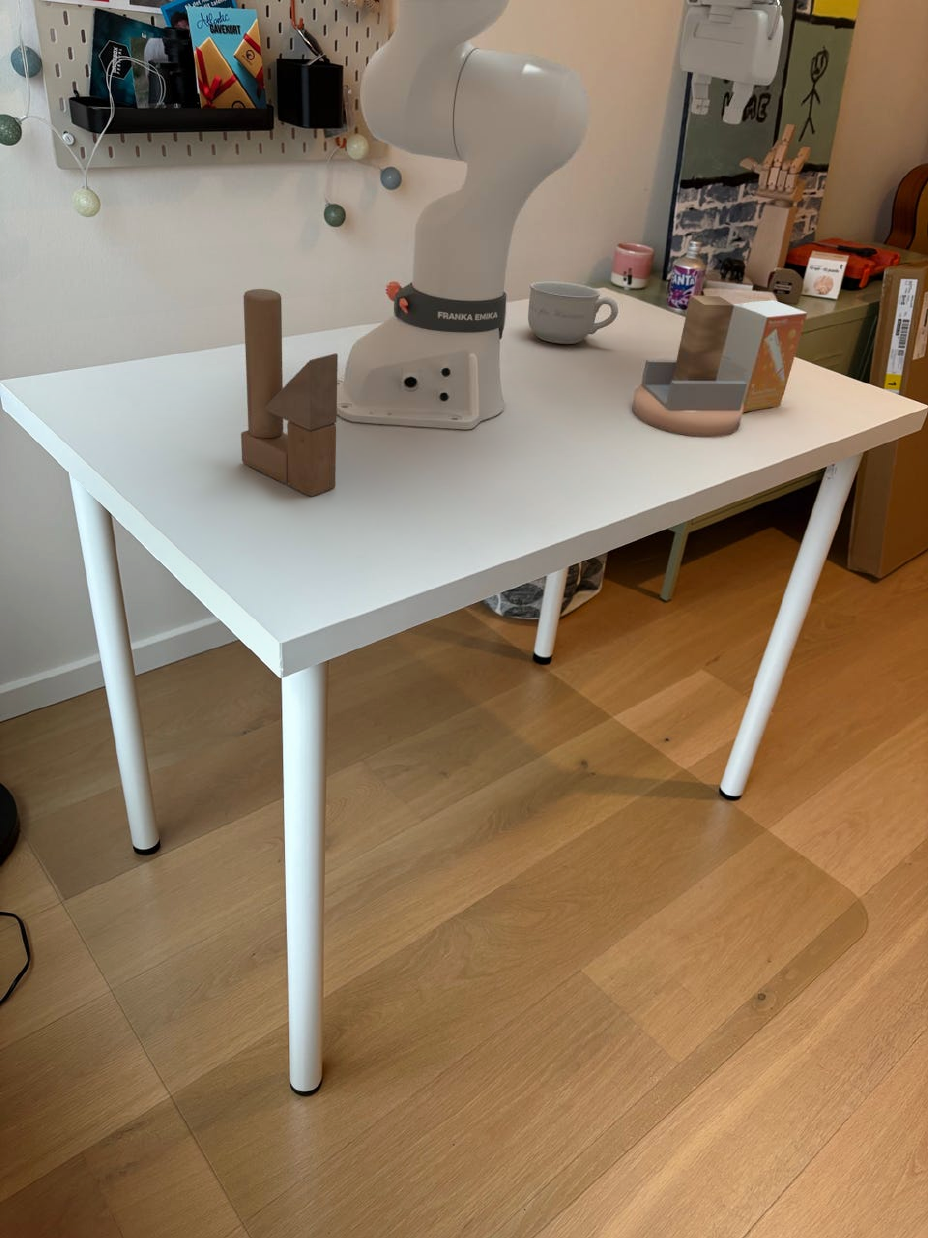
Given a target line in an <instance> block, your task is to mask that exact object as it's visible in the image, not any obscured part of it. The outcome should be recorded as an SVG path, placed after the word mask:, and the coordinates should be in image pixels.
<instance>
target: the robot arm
mask: <svg viewBox="0 0 928 1238" xmlns="http://www.w3.org/2000/svg"><path fill="white" fill-rule="evenodd" d="M509 2H510V0H398V12H397V13H398V14H397V21H396V25H395V29H394V31H393V33H392V35H391V36H390V38H389V39H388V41H386V42H385V44H384V45H382V46H380V48H378V49H377V50H376V51H375V53H374V54H373V55H372V56H371V58H370V59H369V61H368V63H367V65H366V67H365V69H364V70H363V74H362V77H361V78H362V79H361V82H360V88H359V90H360V91H359V93H360V94H359V100H360V109H361V112H362V116H363V119H364V121H365V124H366V127H367V128H368V131H369V132H370V133H371V135H372V136H373V138H375V139H376V140H378V141H380V142H382V143H384V144H387V145H389V146H391V147H394V148H397V149H399V150H402V151H403V152H404V151H405V152H406V153H407V152H408V153H410V154H413V155H417V156H425V157H432V158H436V159H437V158H438V159H443V160H450V161H456V162H463V163H465V164H466V165H467V166H466V174H465V179H464V181H463V184H462V186H461V188H460V189H458V190H457V191H453V192H451V193H449V194H446V195H444V196H441V197H438V198H437V199H435V200H434V201H431V202H430V203H428V205H426V206H425V207H424V208H423V209H422V211H421V212H420V214H419V216H418V218H417V220H416V222H415V227H414V241H413V242H414V244H413V257H412V258H413V260H412V280H411V282H410V283H408V284H407V285H405V286H404V287H402V286H401V283H399V282H398V281H390V282H388V283H387V284H388V285H386V286H385V287H386V288H385V294H386V295H387V297H388V298H389V300H390V301H392V302H393V315H392V316H391V317H390V318H388V319H386V320H385V321H383V322H382V323H381V324H380V325H378V326H377V327H375V328H374V329H373V330H371V331H369V332H368V333H366V334H365V335H363V336H362V337H361V338H359V339H357V340H355V342H354V343H353V345H352V347H351V349H350V351H349V354H348V357H347V361H346V365H345V372H344V374H341V375H337V415H338V416H339V417H340V418H343V419H344V420H347V421H350V422H353V423H365V424H380V425H381V424H382V425H393V426H395V425H397V426H407V427H408V426H410V427H422V428H423V427H424V428H425V427H426V428H439V429H455V430H456V429H457V430H472V429H474V428H475V427H476V426H477V425H478V424H479V423H480V422H482V421H485V420H487V419H490V418H493V417H495V416H497V415H499V414H501V413H502V411H503V410H504V408H505V401H504V398H503V391H502V382H501V381H502V380H501V369H500V368H501V364H500V361H501V359H500V357H501V355H500V347H501V346H500V345H501V340H502V339H503V332H504V329H505V325H506V317H507V293H506V292H505V283H506V282H505V281H506V273H507V268H508V259H509V254H510V250H511V249H510V248H511V242H512V238H513V234H514V229H515V226H516V222H517V220H518V218H519V216H520V214H521V211H522V209H523V208H524V205H525V204H526V202H527V200H528V199H529V198H530V196H531V195H532V194H533V192H534V191H535V190H537V189H536V188H538V187H539V186H540V184H542V182H544V181H545V180H546V179H547V178H548V177H550V176H552V175H553V174H554V173H555V172H557V171H559V170H560V169H562V168H563V167H565V166H566V165H567V164H569V162H570V161H572V159H573V158H574V157H575V156H576V154H577V153H578V151H579V150H580V149H581V146H582V145H583V143H584V140H585V139H586V136H587V132H588V128H589V124H590V112H591V111H590V109H591V108H590V101H589V100H590V99H589V96H588V92H587V88H586V86H585V83H584V82H583V80H582V78H581V76H580V75H579V73H578V71H576V69H572V68H570V67H568V66H565V65H563V64H560V63H558V62H555V61H552V60H550V59H548V58H544V57H541V56H538V55H531V54H524V53H517V52H515V53H514V52H510V51H509V52H508V51H498V50H492V49H490V50H489V49H483V48H480V47H476V46H474V45H472V44H471V42H470V40H472V39H474V38H476V37H478V36H479V35H481V34H483V33H484V32H486V31H487V30H489V28H490V27H492V26H493V24H495V23H496V22H497V21H498V20H499V19H500V18H501V16H502V15H503V14H504V12H505V11H506V9H507V7H508V5H509ZM686 4H687V5H689V6H690V8H688V11H687V13H686V15H685V20H684V25H683V32H682V38H681V45H680V51H679V52H680V53H679V62H680V69H681V71H685V72H688V73H692V78H691V91H692V98H693V99H692V103H691V108H690V111H691V113H693V114H695V115H704V116H705V115H706V114H708V112H709V106H710V102H711V100H710V99H708V98H709V97H708V96H709V85H711V82H712V78H717V79H722V80H727V81H732V82H733V85H732V89H731V91H732V92H733V94H732V97H731V99H730V102H729V104H728V106H725V107H724V110H723V111H724V113H723V114H724V115H723V116H722V120H723V122H724V123H726V124H730V125H739V124H740V123H741V121H742V119H743V118H742V117H743V111H744V110H745V108H746V106H747V104H748V103H749V101H750V98H751V97H752V95H753V92H754V87H755V86H765V87H766V86H770V85H771V84H772V82H773V81H774V78H775V77H776V75H777V71H778V65H779V61H780V56H781V55H780V54H781V49H782V43H783V42H782V41H783V35H784V18H783V15H782V12H783V11H782V9H783V7H782V6H781V2H780V0H686Z"/></svg>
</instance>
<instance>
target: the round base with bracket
mask: <svg viewBox="0 0 928 1238" xmlns="http://www.w3.org/2000/svg"><path fill="white" fill-rule="evenodd" d="M676 360H677V359H652V358H651V359H650V358H649V359H645V363H644V368H643V373H642V378H641V382H640V384H638V385H637V386H636V389H635V392H634V399H633V404H632V412H633V414H634V413H635V414H634V415H635V416H636V417H637V418H638V419H639V420H641V421H642V422H644V423H646V424H648V425H650V426H651V427H654V428H656V429H660V430H662V431H665V432H669V433H673V434H677V435H678V434H679V435H684V436H691V437H702V438H705V437H706V438H715V437H722V436H727V435H731V434H732V433H735V432H736V431H737V430H738V429H739V427H740V425H741V424H740V423H741V419H742V416H743V413H744V412H743V409H744V405H743V403H742V401H743V397H744V393H745V389H746V385H747V384H746V383H745V382H744V381H672V379H673V374H674V370H675V365H676Z"/></svg>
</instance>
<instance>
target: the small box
mask: <svg viewBox="0 0 928 1238" xmlns="http://www.w3.org/2000/svg"><path fill="white" fill-rule="evenodd" d="M732 304H733V305H734V308H733V312H732V316H731V321H730V325H729V329H728V333H727V337H726V341H725V346H724V350H723V354H722V358H721V362H720V366H719V370H718V375H717V379H716V381H744V382H745V383H746V384H747V385H746V389H745V393H744V397H743V401H742V403H743V405H744V409H743V413H745V412H751V411H756V410H757V411H758V410H762V409H768V408H773V407H774V408H775V407H776V408H777V407H780V406H781V404H782V401H783V398H784V394H785V390H786V387H787V385H788V380H789V376H790V374H791V371H792V367H793V364H794V360H795V357H796V353H797V350H798V346H799V343H800V339H801V335H802V333H803V329H804V326H805V322H806V319H807V315H808V312H806V311H804V310H801V309H799V308H797V307H794V306H791V305H788V304H785V303H782V302H779V301H777V300H775V299H771V300H770V299H769V300H762V301H760V300H759V301H758V300H757V301H749V302H743V303H732Z"/></svg>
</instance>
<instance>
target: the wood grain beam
mask: <svg viewBox="0 0 928 1238" xmlns="http://www.w3.org/2000/svg"><path fill="white" fill-rule="evenodd" d="M733 304H734V303H731V302H730V301H727V300H726V299H725V298H723V297H721V296H720V295H718V296H717V295H692V294H691V295H690V296H689V300H688V305H687V309H686V314H685V318H684V323H683V329H682V333H681V338H680V342H679V347H678V352H677V356H676V359H675V360H676V365H675V370H674V374H673V379H672V381H716V379H717V375H718V370H719V366H720V362H721V358H722V354H723V350H724V346H725V341H726V337H727V333H728V329H729V325H730V321H731V316H732V312H733V308H734V305H733Z"/></svg>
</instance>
